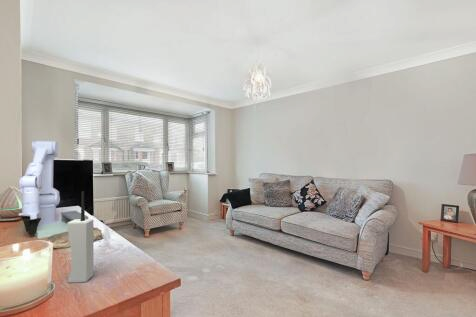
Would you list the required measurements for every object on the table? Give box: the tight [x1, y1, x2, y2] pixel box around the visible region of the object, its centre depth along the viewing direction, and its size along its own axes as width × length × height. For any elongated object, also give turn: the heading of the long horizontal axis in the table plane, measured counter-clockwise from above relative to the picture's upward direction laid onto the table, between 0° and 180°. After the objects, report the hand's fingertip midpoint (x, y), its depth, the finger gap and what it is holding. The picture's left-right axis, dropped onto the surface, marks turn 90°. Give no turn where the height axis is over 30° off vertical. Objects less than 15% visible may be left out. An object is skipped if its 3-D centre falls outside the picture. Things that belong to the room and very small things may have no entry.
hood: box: [60, 210, 89, 224], centre depth 116 cm, size 21×6×6 cm, turn 49°
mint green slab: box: [33, 221, 68, 239], centre depth 109 cm, size 14×12×3 cm
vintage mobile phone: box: [67, 191, 95, 284], centre depth 66 cm, size 4×5×25 cm
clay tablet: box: [43, 227, 103, 250], centre depth 96 cm, size 14×5×20 cm
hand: (30, 232), depth 104 cm, fingers open, 7 cm apart
